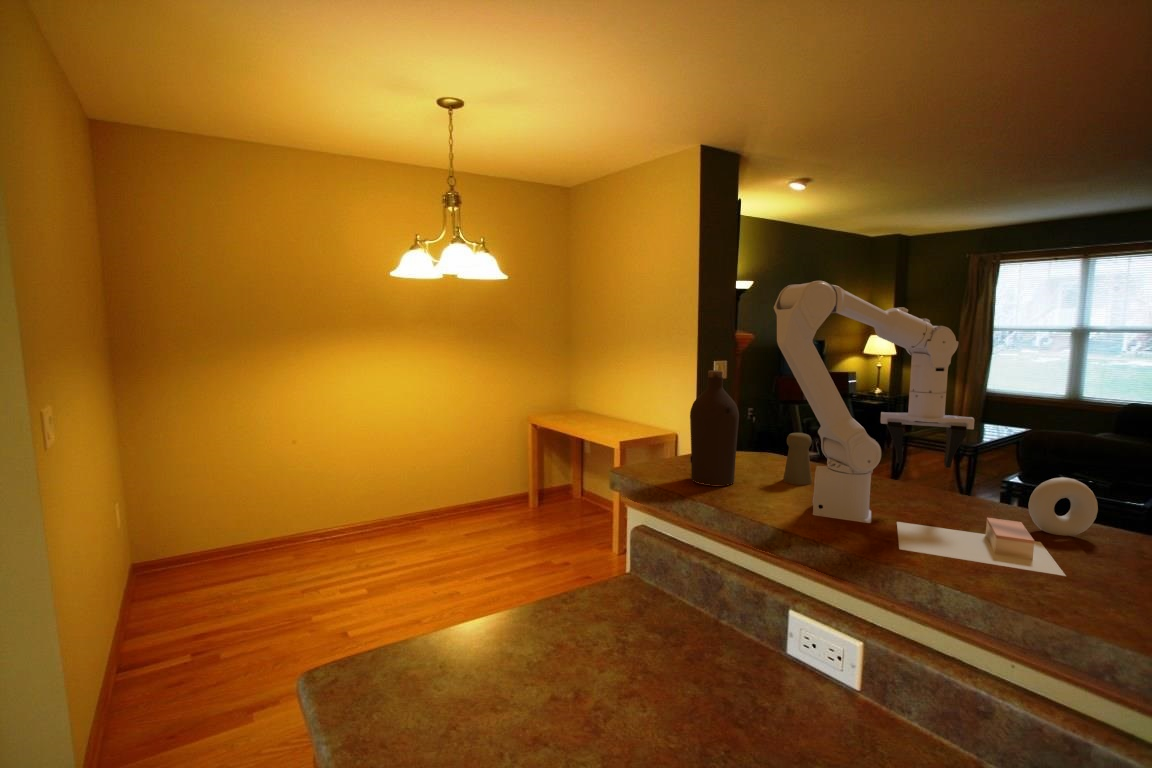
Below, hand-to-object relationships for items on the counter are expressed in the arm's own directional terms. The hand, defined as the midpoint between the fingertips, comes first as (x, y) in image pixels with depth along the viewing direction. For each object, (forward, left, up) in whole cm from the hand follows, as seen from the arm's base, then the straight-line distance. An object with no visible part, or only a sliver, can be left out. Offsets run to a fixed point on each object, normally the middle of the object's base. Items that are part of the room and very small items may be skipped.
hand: (922, 464), depth 105 cm
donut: (+20, -2, -10) cm, 22 cm away
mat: (+6, -16, -9) cm, 20 cm away
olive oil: (-40, +4, -10) cm, 41 cm away
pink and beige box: (+11, -14, -9) cm, 20 cm away
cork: (-23, +13, -10) cm, 28 cm away
